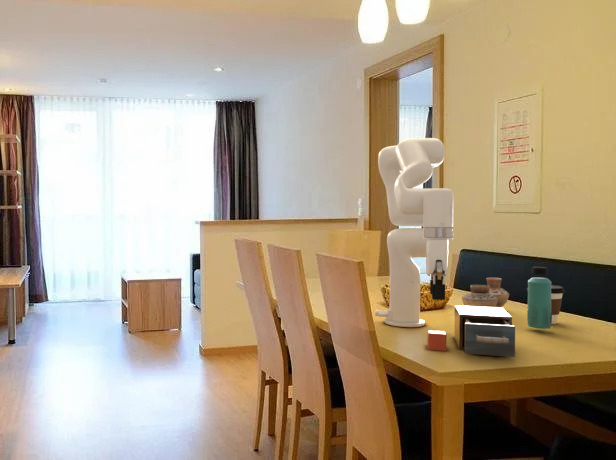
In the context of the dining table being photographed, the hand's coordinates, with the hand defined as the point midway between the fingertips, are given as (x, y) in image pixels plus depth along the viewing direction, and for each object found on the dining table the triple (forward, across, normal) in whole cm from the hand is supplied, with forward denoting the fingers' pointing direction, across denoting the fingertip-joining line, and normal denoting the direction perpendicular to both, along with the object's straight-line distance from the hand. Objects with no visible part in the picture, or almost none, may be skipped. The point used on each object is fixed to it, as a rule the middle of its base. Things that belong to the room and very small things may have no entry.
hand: (437, 296), depth 157 cm
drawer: (+13, +3, +12) cm, 18 cm away
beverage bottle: (+14, -32, +31) cm, 47 cm away
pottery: (+14, -60, +20) cm, 65 cm away
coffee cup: (+14, -48, +36) cm, 62 cm away
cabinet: (+14, -8, +12) cm, 20 cm away
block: (+14, 0, 0) cm, 14 cm away
